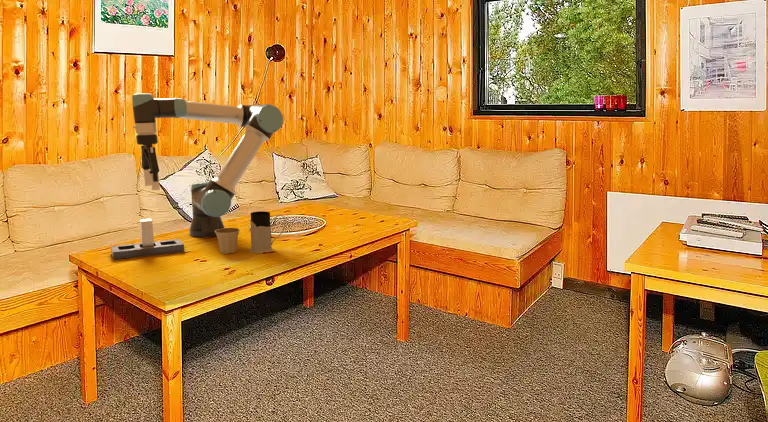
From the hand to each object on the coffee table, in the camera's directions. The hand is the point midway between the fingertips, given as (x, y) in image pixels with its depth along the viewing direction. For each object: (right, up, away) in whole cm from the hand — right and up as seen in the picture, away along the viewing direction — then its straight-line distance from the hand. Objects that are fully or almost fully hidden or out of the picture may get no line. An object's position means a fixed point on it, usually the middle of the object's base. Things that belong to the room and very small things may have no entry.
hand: (152, 187), depth 218 cm
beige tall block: (+1, -25, -5) cm, 26 cm away
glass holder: (+46, -25, +1) cm, 52 cm away
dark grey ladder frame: (+1, -25, -5) cm, 26 cm away
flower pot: (+31, -25, -3) cm, 40 cm away
